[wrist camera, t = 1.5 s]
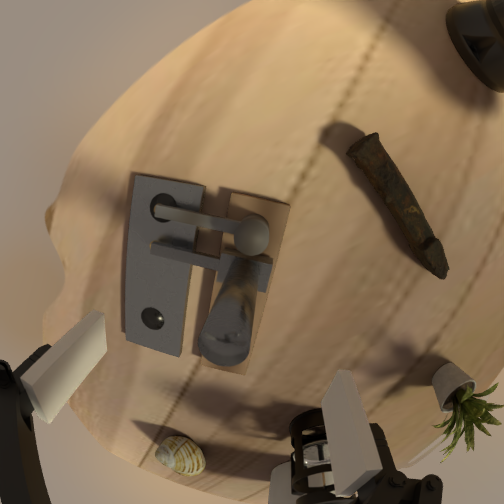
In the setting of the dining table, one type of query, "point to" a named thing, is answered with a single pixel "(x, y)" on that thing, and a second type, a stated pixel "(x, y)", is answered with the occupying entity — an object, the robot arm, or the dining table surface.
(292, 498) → the utensil holder
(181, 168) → the dining table surface
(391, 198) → the hand tool
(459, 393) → the house plant
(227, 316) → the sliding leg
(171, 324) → the bolt plate
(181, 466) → the seashell
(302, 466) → the french press
